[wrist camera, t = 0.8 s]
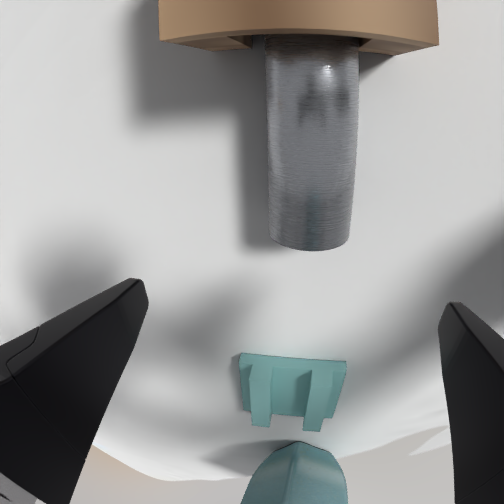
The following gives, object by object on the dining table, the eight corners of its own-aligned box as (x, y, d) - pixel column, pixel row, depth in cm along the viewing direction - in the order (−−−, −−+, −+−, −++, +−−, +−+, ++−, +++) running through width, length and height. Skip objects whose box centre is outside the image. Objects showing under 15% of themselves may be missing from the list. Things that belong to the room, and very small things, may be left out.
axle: (337, -34, 11) (364, -60, 7) (336, 213, 18) (359, 248, 14) (258, -39, 11) (264, -71, 7) (265, 215, 18) (272, 253, 14)
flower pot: (249, 449, 33) (234, 514, 26) (295, 428, 29) (283, 507, 21) (305, 469, 35) (296, 528, 27) (354, 450, 30) (351, 519, 23)
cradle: (346, 361, 23) (346, 387, 20) (332, 409, 26) (331, 432, 24) (241, 352, 24) (234, 377, 22) (245, 401, 27) (240, 423, 25)
